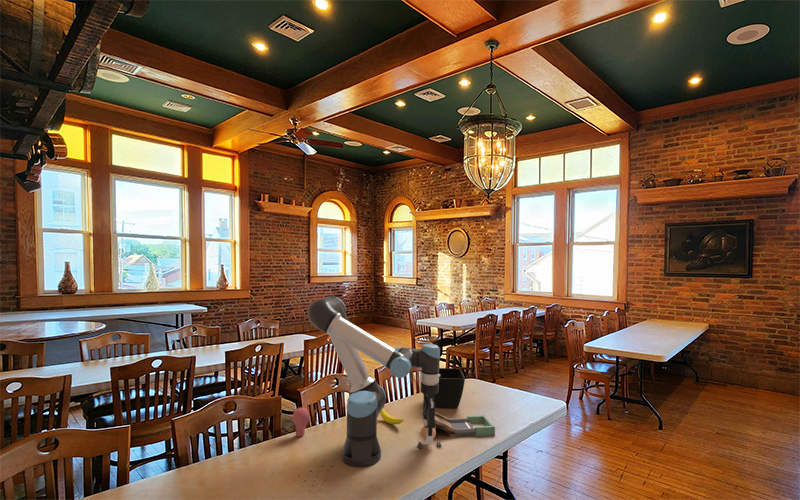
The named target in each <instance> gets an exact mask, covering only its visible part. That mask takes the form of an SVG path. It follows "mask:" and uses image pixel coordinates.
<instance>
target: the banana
mask: <svg viewBox="0 0 800 500" xmlns="http://www.w3.org/2000/svg"><path fill="white" fill-rule="evenodd" d="M379 415H380V416H381V418H382V420H383V421H384V422H385V423H386V424H387V423H388V424H390V425H399V424H402V423H403V422H404V421H405V420H404V419H403V418H399V417H398V418H397V417H393V416H391V415H389V414H388V413H387V412H386V410H385V409H384V408H383V409H382V410H381V412H380V413H379Z"/></svg>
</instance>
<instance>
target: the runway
mask: <svg viewBox="0 0 800 500" xmlns="http://www.w3.org/2000/svg"><path fill="white" fill-rule="evenodd" d="M449 419H450V420H449V422H450V424H451V426H452V427H453V428H455V429H456V430H455V432H456V433H455V436H454V437H466V436H467V437H469V436H476V435H475V428H474V427H473V426H472V424H471V423H470V419H468V418H467V417H460V418H449Z"/></svg>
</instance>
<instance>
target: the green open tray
mask: <svg viewBox="0 0 800 500" xmlns="http://www.w3.org/2000/svg"><path fill="white" fill-rule="evenodd" d="M466 418H468V419H470V423H471V424H472V426H473V427H474V428H475V435H474V436H475V437H480V436H482V437H483V436H495V435H496V427H495V425H494V424H493V423H492V422H491V420H490V419H489V418H488V417H487V416H486V414H482V415H467V416H466Z"/></svg>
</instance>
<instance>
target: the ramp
mask: <svg viewBox="0 0 800 500" xmlns="http://www.w3.org/2000/svg"><path fill="white" fill-rule="evenodd" d="M450 419H451V418H448V417H446V416H444V415H443V414H440V413H438V412H436V411H435V428H434V429H435V431H436V430H437V429H440V430H442V431H444V432H447V434H448V435H449V437H456V436H455V433H456V432H455V430H456V429H455V428H453V427H452V426H451V424H450V422H449V420H450ZM436 428H437V429H436ZM436 435H437V434H436ZM436 435H435V438H436Z"/></svg>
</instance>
